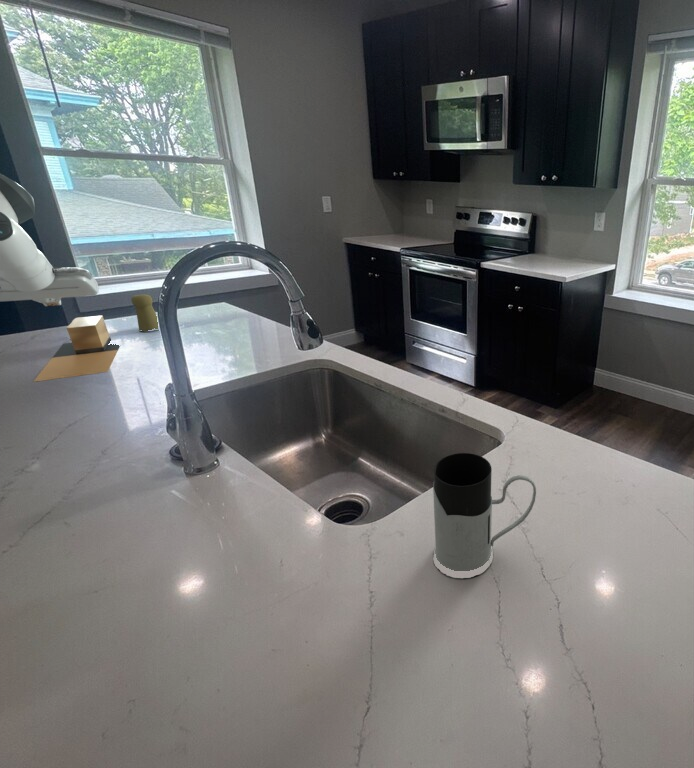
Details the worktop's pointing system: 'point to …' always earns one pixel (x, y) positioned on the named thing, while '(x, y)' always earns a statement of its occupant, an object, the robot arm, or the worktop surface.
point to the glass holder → (466, 510)
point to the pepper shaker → (145, 312)
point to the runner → (77, 363)
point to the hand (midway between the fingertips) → (53, 303)
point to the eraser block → (89, 334)
